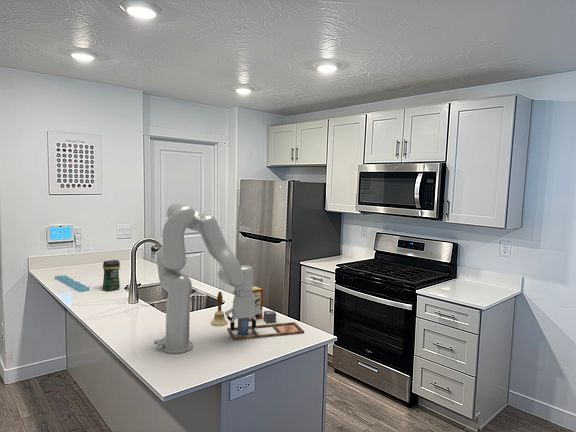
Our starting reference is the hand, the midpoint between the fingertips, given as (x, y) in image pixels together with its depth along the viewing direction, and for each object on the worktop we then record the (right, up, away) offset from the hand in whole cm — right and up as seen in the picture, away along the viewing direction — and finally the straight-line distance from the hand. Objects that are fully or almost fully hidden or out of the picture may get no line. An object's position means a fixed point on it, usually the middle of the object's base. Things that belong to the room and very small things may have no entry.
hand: (243, 329), depth 186 cm
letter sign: (-120, +7, +76) cm, 142 cm away
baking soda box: (+2, -1, +22) cm, 22 cm away
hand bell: (-13, -1, +13) cm, 19 cm away
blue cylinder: (0, -2, 0) cm, 2 cm away
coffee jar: (-90, +6, +67) cm, 113 cm away
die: (+11, -2, +18) cm, 22 cm away
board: (+10, -2, +4) cm, 11 cm away
